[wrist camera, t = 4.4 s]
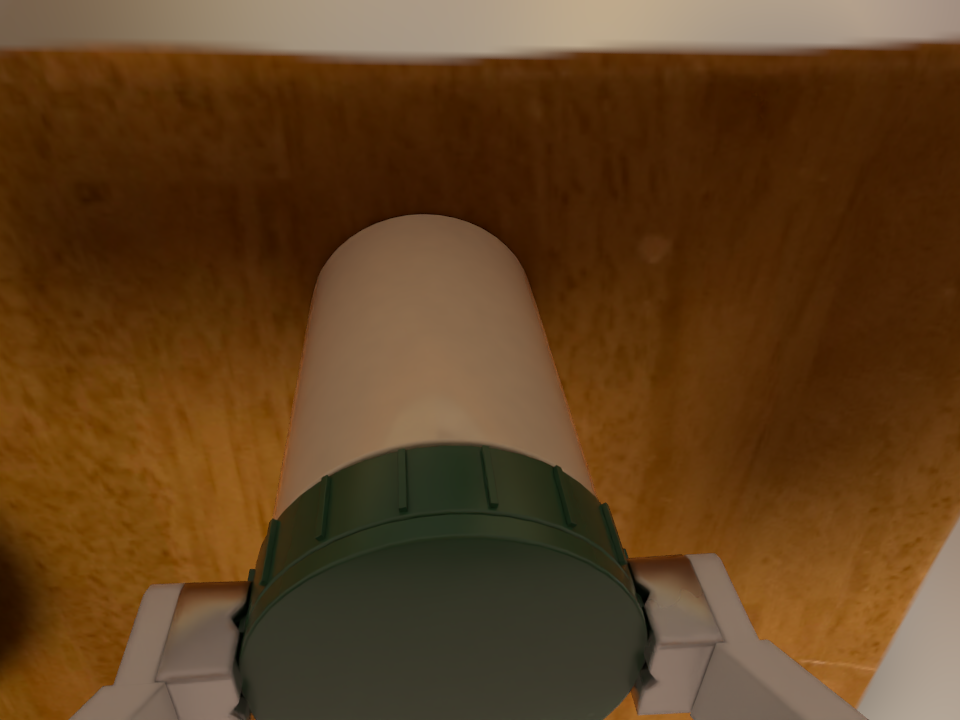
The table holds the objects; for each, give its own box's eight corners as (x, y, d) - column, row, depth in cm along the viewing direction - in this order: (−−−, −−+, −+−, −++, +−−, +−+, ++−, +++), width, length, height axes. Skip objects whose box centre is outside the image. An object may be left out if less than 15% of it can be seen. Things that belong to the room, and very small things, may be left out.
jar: (541, 212, 17) (662, 503, 10) (525, 400, 20) (605, 732, 13) (299, 214, 17) (221, 525, 9) (321, 406, 20) (276, 758, 12)
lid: (648, 433, 10) (688, 522, 9) (596, 672, 14) (619, 763, 12) (225, 450, 10) (198, 548, 8) (277, 695, 13) (265, 794, 12)
